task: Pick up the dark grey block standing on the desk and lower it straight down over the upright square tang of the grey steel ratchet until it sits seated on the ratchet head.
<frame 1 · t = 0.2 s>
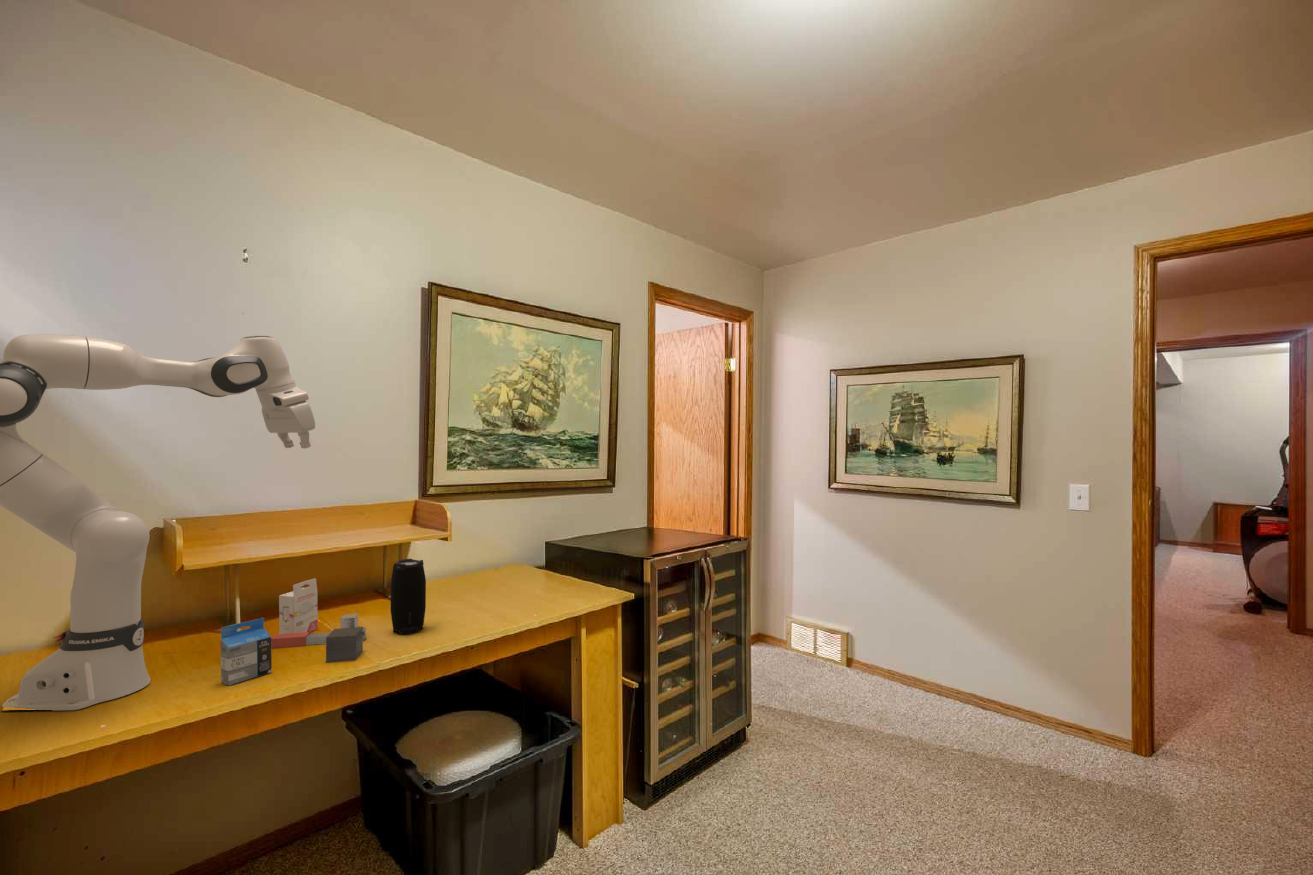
hand: (298, 447, 155), 52 cm above the table, tool tilted 20°, fingers open, 8 cm apart
dark grey block: (344, 656, 145), on the table
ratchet: (349, 640, 157), on the table
ink cartridge box: (298, 634, 162), on the table
portable speaker: (408, 631, 165), on the table
label tape box: (246, 678, 132), on the table
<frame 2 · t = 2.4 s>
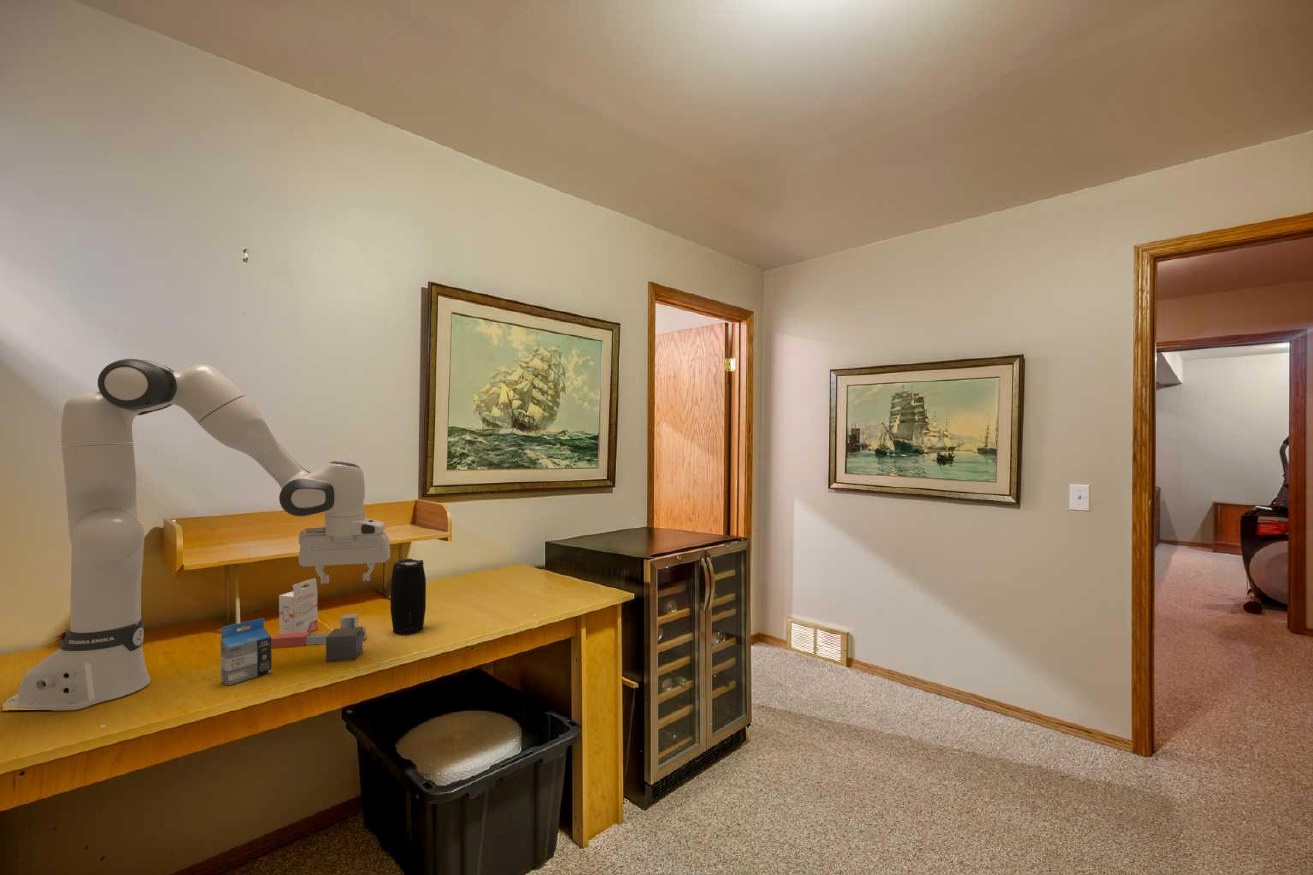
hand: (345, 581, 146), 18 cm above the table, tool pointing down, fingers open, 8 cm apart
nothing on the table moved.
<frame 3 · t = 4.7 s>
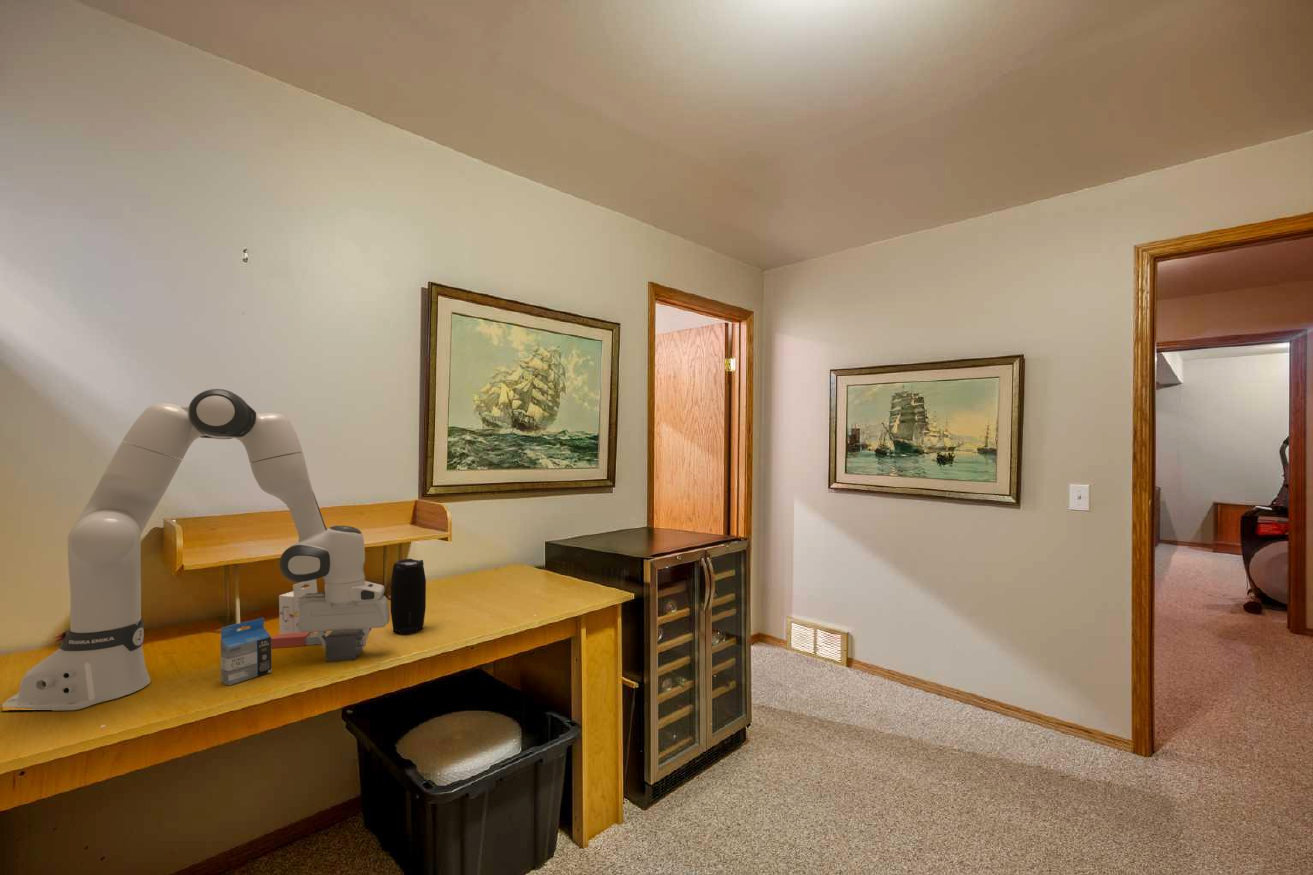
hand: (344, 646, 145), 2 cm above the table, tool pointing down, fingers closed on dark grey block, 7 cm apart
dark grey block: (344, 656, 145), on the table, touching gripper
everything else where it was.
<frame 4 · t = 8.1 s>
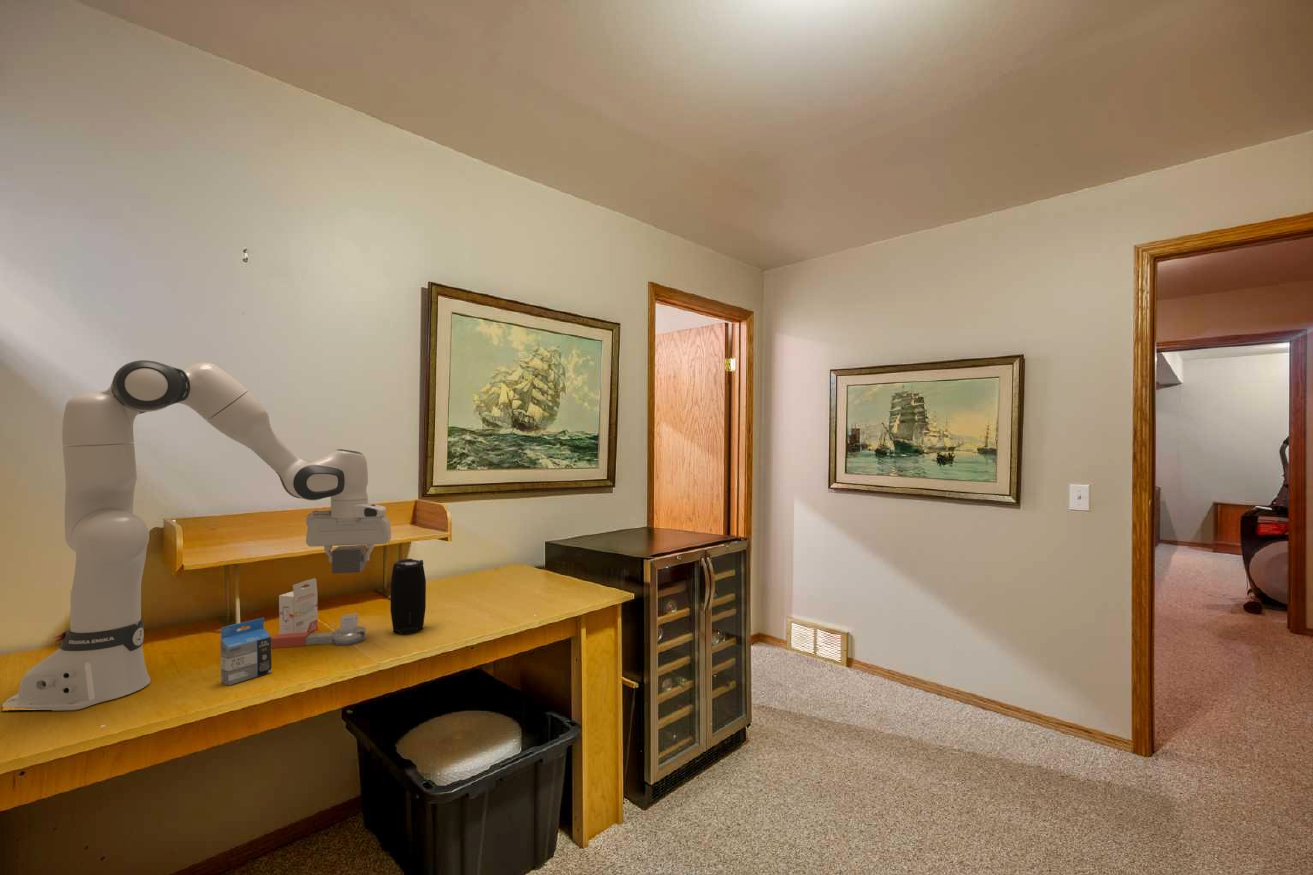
hand: (349, 561, 156), 21 cm above the table, tool pointing down, fingers closed on dark grey block, 7 cm apart
dark grey block: (349, 570, 157), point 19 cm above the table, touching gripper
everything else where it was.
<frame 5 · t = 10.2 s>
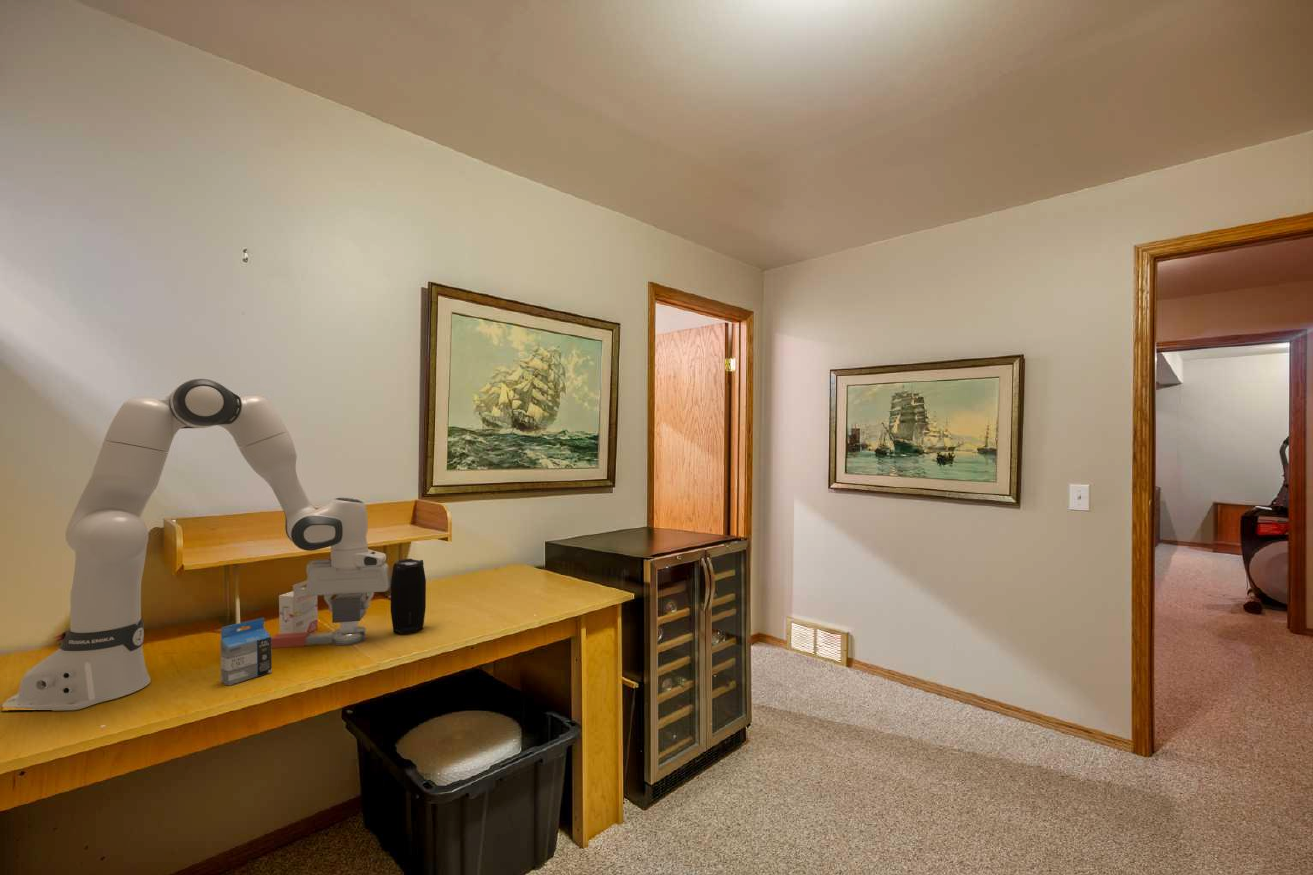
hand: (349, 609, 157), 8 cm above the table, tool pointing down, fingers closed on dark grey block, 7 cm apart
dark grey block: (349, 618, 157), point 6 cm above the table, touching gripper
everything else where it was.
when the fingers open (5 cm above the table, at t = 11.9 s): dark grey block stays where it is, resting on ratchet.
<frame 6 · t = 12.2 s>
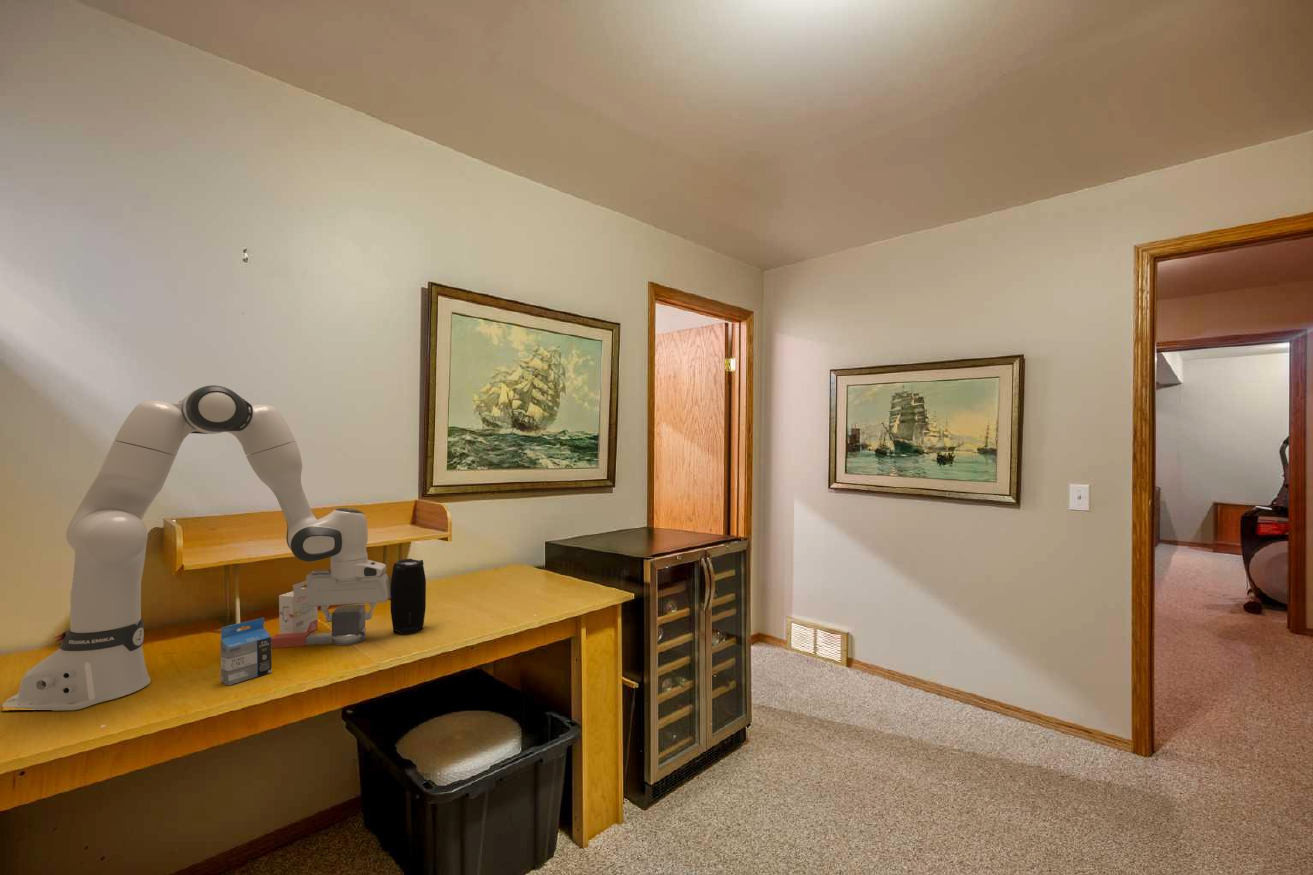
hand: (349, 620, 157), 5 cm above the table, tool pointing down, fingers open, 8 cm apart
dark grey block: (348, 631, 157), point 2 cm above the table, touching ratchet
everything else where it was.
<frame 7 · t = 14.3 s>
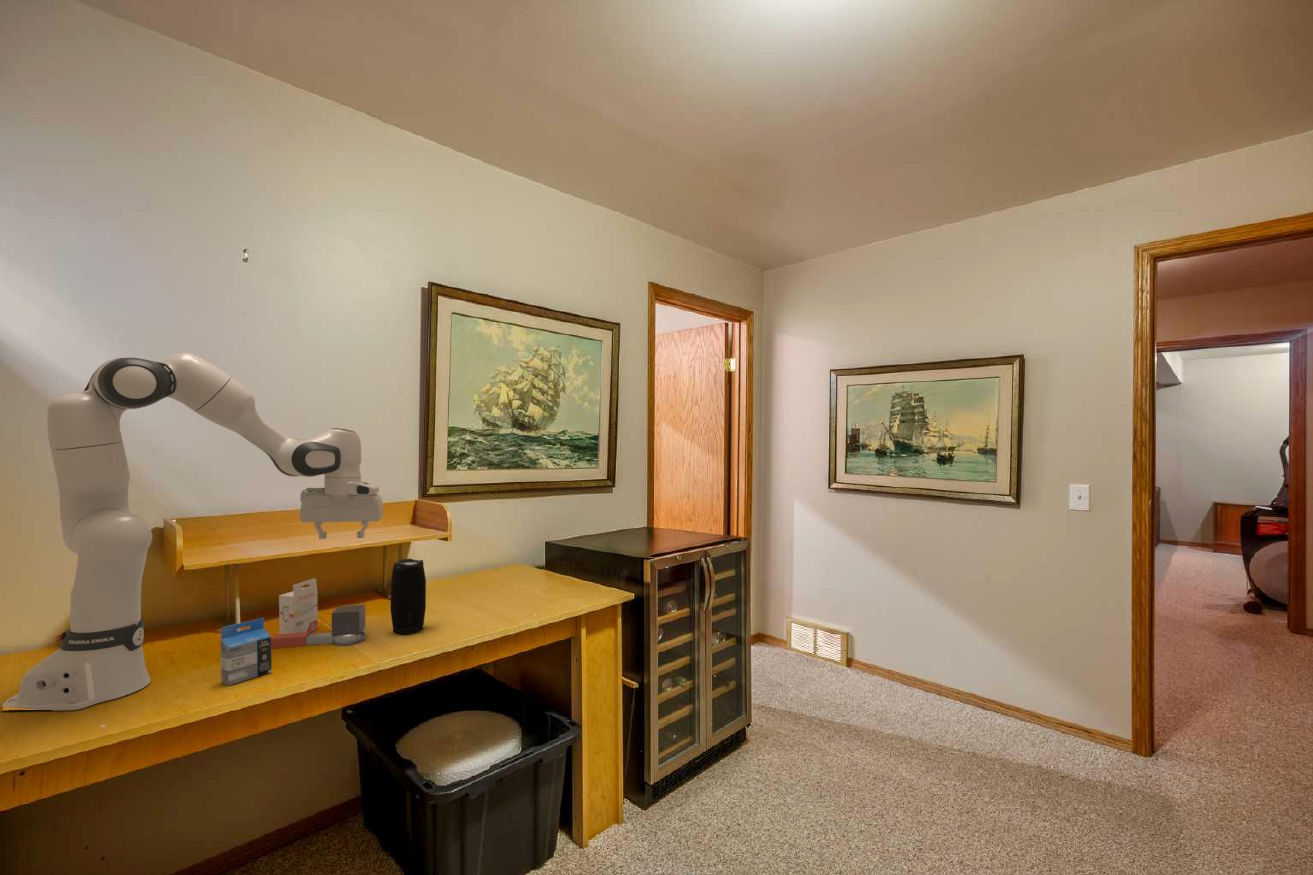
hand: (341, 538, 160), 27 cm above the table, tool pointing down, fingers open, 8 cm apart
nothing on the table moved.
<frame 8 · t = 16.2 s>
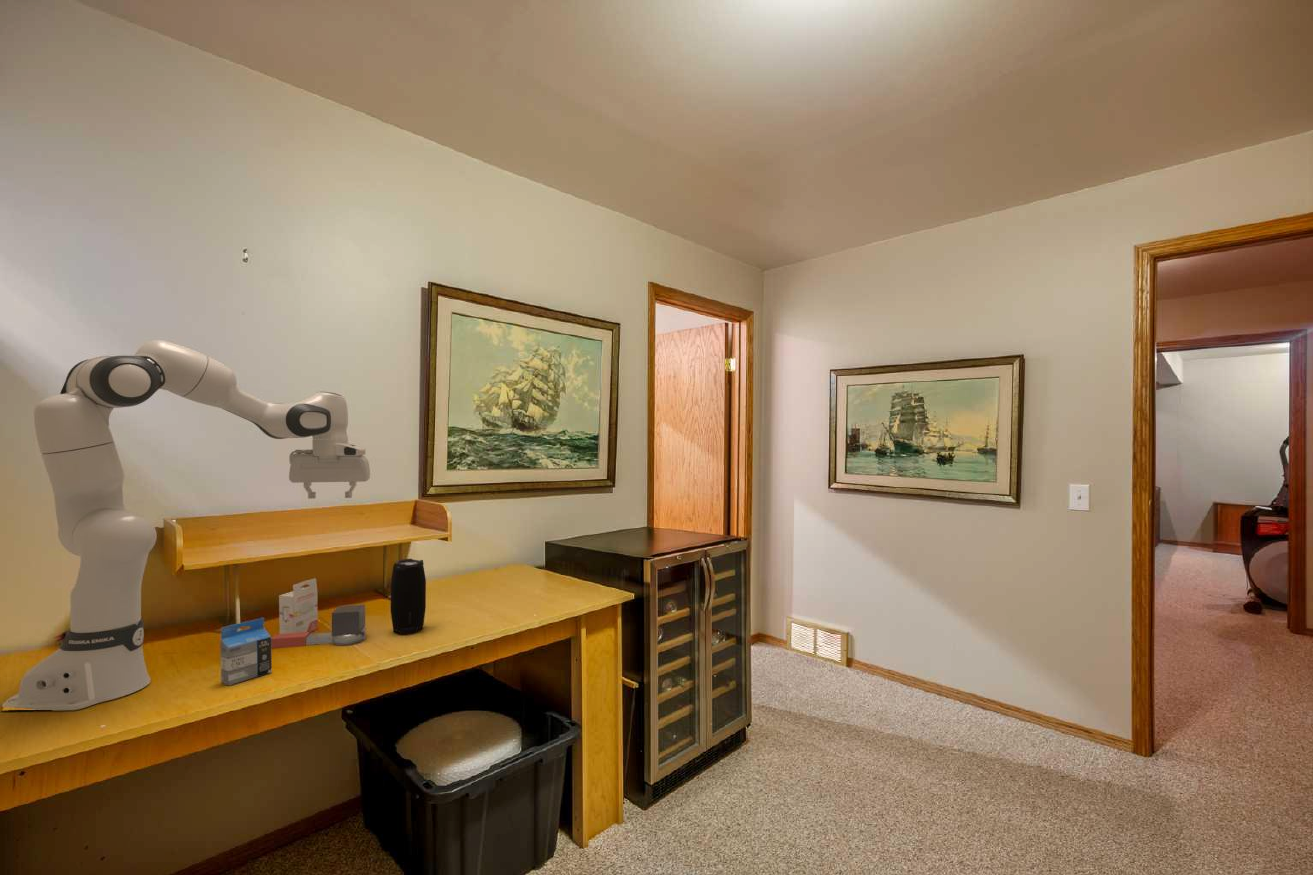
hand: (330, 498, 166), 37 cm above the table, tool pointing down, fingers open, 8 cm apart
nothing on the table moved.
at the end: dark grey block 0.1 cm off-centre on the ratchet, point 2.5 cm above the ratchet's base; dark grey block tilted 0°; the gripper is holding nothing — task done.
